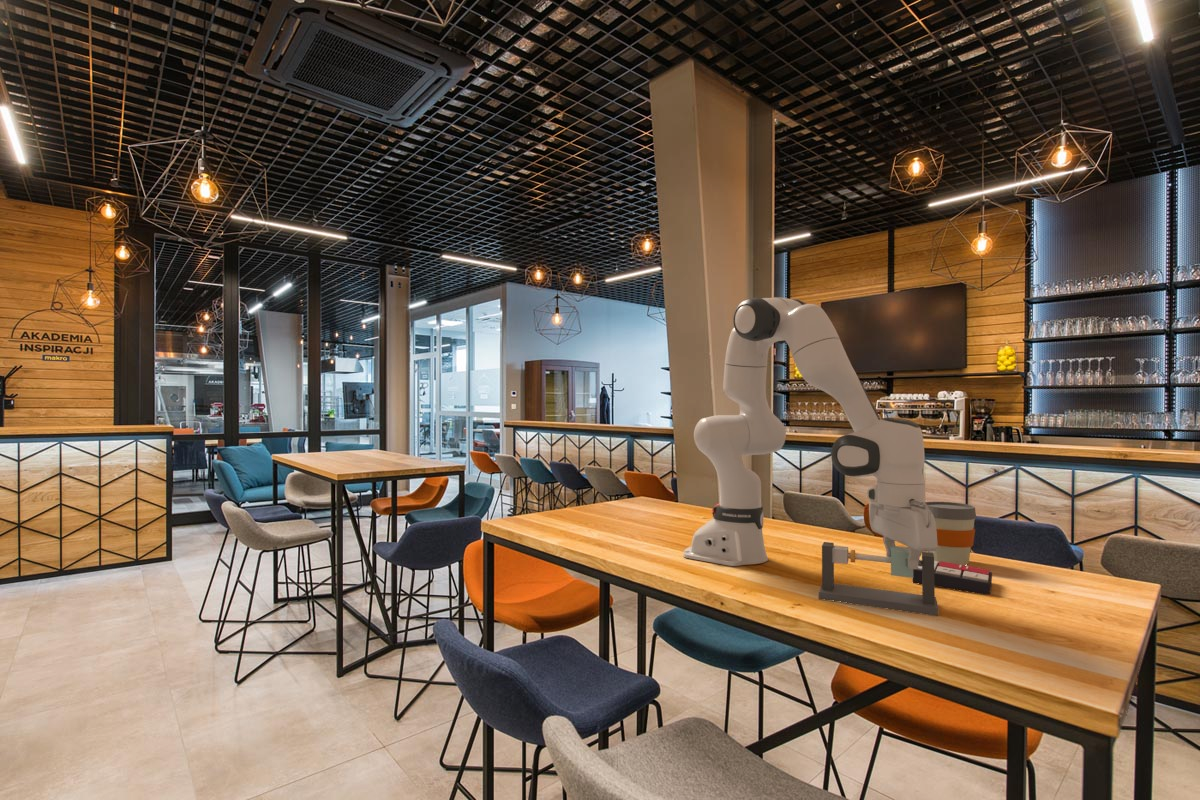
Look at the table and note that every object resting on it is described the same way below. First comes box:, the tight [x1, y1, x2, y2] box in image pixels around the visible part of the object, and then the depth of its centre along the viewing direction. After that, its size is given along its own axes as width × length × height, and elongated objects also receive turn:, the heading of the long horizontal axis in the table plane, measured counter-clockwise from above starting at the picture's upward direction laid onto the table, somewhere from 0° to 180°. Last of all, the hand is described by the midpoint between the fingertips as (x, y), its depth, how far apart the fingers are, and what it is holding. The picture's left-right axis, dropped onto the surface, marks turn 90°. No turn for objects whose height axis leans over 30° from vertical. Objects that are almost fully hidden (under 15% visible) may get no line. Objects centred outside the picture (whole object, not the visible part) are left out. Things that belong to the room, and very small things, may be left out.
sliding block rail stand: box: [818, 541, 939, 617], centre depth 120 cm, size 22×8×11 cm, turn 63°
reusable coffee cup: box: [925, 501, 977, 565], centre depth 152 cm, size 13×13×15 cm
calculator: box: [911, 558, 993, 596], centre depth 133 cm, size 11×4×15 cm
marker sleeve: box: [890, 545, 913, 579], centre depth 118 cm, size 4×5×5 cm
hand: (901, 563), depth 118 cm, fingers closed on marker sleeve, 6 cm apart
